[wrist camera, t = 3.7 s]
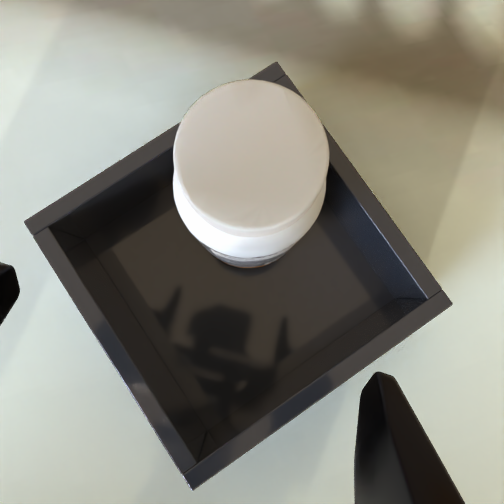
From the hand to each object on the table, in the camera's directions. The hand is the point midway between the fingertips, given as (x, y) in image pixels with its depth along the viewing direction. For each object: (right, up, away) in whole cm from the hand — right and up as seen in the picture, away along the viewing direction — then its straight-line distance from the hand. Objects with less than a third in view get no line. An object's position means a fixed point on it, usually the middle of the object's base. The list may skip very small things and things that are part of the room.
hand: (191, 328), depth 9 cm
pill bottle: (+1, +4, +12) cm, 13 cm away
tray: (+1, +1, +12) cm, 12 cm away
